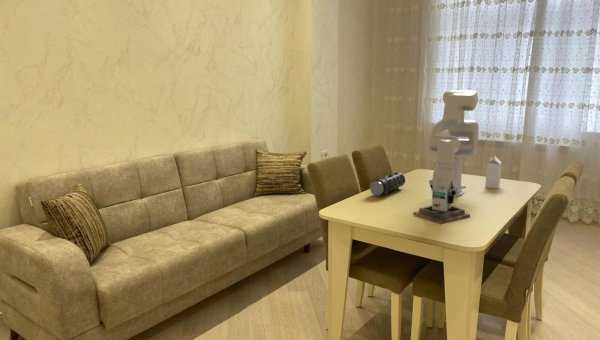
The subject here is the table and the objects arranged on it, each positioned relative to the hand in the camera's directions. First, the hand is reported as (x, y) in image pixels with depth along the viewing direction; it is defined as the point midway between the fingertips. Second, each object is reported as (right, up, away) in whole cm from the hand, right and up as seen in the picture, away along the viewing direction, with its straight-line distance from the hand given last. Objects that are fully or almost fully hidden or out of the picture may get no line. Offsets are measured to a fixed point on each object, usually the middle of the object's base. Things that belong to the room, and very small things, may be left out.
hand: (442, 201), depth 209 cm
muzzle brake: (-17, +1, +45) cm, 48 cm away
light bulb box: (0, -4, +1) cm, 4 cm away
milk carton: (+49, +4, +57) cm, 75 cm away
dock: (0, -7, +1) cm, 7 cm away
